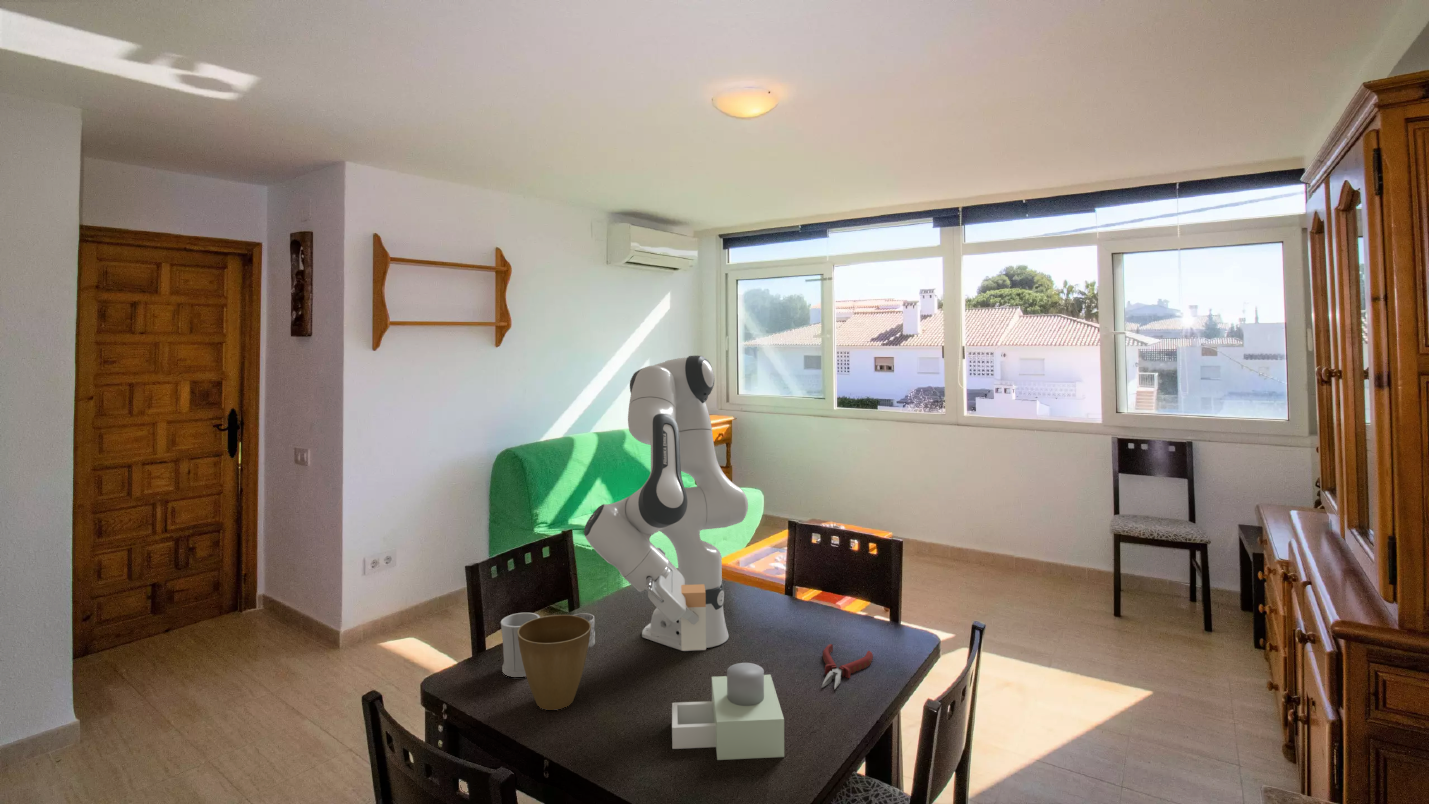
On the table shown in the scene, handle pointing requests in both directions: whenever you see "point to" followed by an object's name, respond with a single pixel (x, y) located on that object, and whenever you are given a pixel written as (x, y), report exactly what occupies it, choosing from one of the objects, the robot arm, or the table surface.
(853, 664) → the pliers
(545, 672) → the plant pot
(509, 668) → the cup
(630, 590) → the table surface
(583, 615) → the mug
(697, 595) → the two-tone orange block
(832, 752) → the table surface
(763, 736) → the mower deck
